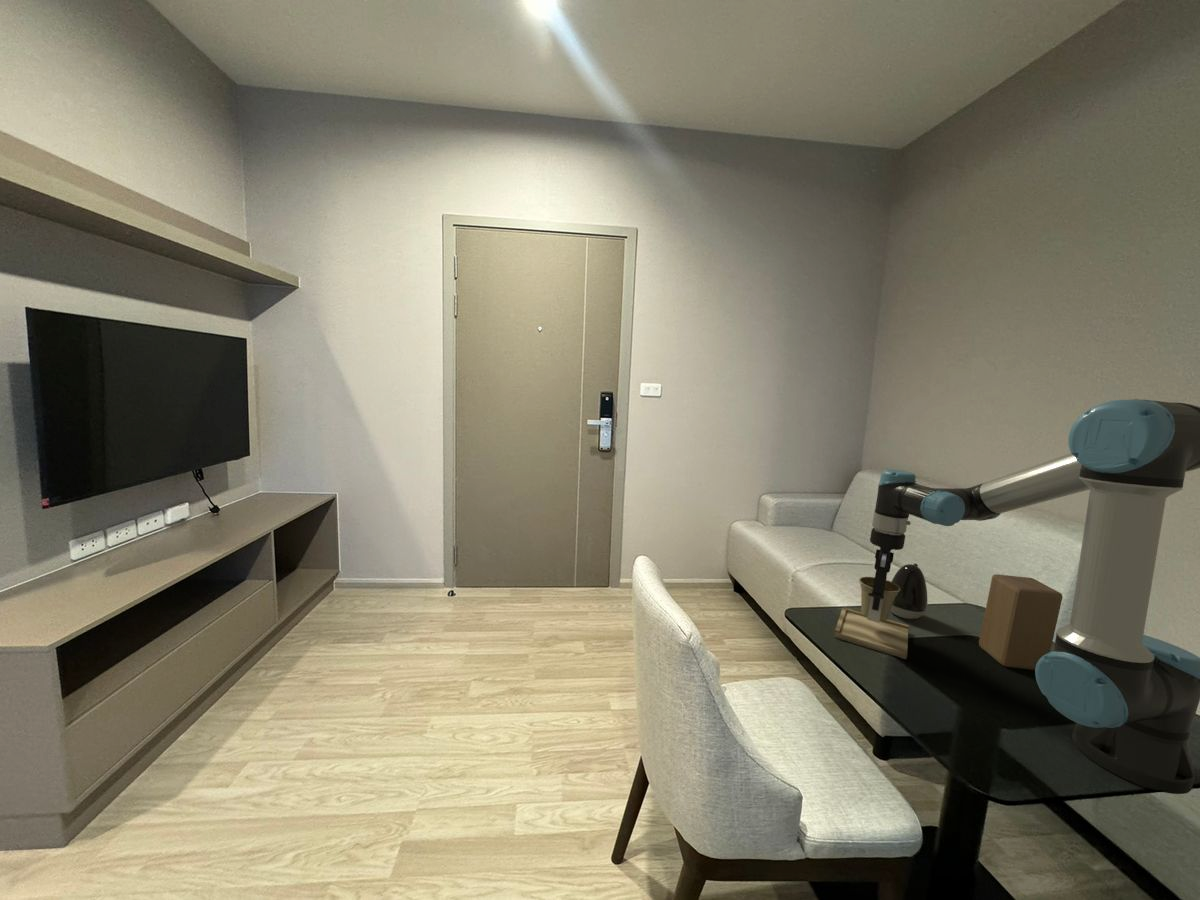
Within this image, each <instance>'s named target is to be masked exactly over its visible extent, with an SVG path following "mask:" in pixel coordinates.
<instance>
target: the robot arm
mask: <svg viewBox="0 0 1200 900" xmlns="http://www.w3.org/2000/svg"><path fill="white" fill-rule="evenodd" d="M1069 430H1070V431H1069V433H1068V440H1067V443H1068V448H1069V452H1070V453H1068V454H1065V455H1061V456H1059V457H1057V458H1053V459H1050V460H1047V461H1044V462H1041V463H1038V464H1035V465H1032V466H1029V467H1027V468H1024V469H1021V470H1017V471H1014V472H1011V473H1009V474H1005V475H1003V476H999V477H997V478H994V479H990V480H989V481H985V482H983V483H980V484H977V485H974V486H971V487H967V488H965V487H964V488H961V487H959V488H958V487H957V488H952V487H951V488H950V487H949V488H944V487H942V488H939V487H937V488H935V487H929V486H926V485H923V484H919V483H916V482H917V481H916V477H917V476H916V474H915V473H912V472H911V471H907V470H899V469H893V468H892V469H890V468H889V469H885V470H883V471H882V472H881V474H880V478H879V482H878V487H877V496H876V502H875V509H874V512H873V518H872V524H871V525H872V529H871V531H870V536H869V537H870V538H869V542H870V543H871V544H872V545H873V546H876V547H879V549H878V548H877V549H876V552H875V557H874V569H875V575H874V577H875V580H874V585H873V591H872V593H869V594H868V595H869V596H871V599H870V605H869V611H868V617H867V620H871V621H874V622H878V623H879V621H880V615H881V609H882V604H883V598H884V589H885V583H886V580H887V579H888V578H887V577H888V573H890V571H891V568H892V567H891V566H892V563H893V562H894V561H893V560H894V554H895V552H891V551H892V550H894V551H901V550H902V549H904V547H905V541H906V535H905V533H906V532H907V527H908V526H910V525H912V523H911V521H910V520H909V517H910V516H914V517H916V518H919V519H922V520H925V521H927V522H929V523H931V524H934V525H940V526H943V527H953V526H955V524H958V523H959V522H960V521H980V522H981V521H983V522H984V521H987V520H993V519H996V518H998V517H999V516H1000V515H1001V514H1003V513H1007V512H1010V511H1015V510H1017V509H1022V508H1026V507H1029V506H1033V505H1037V504H1040V503H1041V504H1042V503H1044V502H1048V501H1052V500H1055V499H1056V500H1057V499H1059V498H1064V497H1066V496H1070V495H1074V494H1077V493H1080V492H1085V491H1089V494H1088V501H1087V509H1086V514H1085V522H1084V527H1083V528H1084V529H1083V535H1082V543H1081V549H1080V555H1079V562H1078V567H1077V568H1078V569H1077V575H1076V581H1075V582H1076V583H1075V588H1074V589H1075V590H1074V595H1073V600H1072V601H1073V602H1072V607H1071V615H1070V620H1069V621H1070V622H1069V624H1067V625H1064V626H1062V627H1060V628H1058V629H1057V630H1056V635H1055V641H1054V648H1053V651H1050V653H1048V654H1045V655H1044V656H1043V657H1041V658H1040V659H1039V661H1038V662H1037V664H1036V668H1035V670H1034V672H1035V673H1034V674H1035V680H1036V683H1037V685H1038V688H1039V690H1040V692H1041V694H1043V696H1045V697H1046V699H1047V700H1048V703H1049V704H1050V705H1051V706H1052V707H1053V708H1054V709H1055V710H1056V711H1057V712H1059V713H1060V714H1061V715H1063V716H1064V717H1065V718H1067V719H1068V720H1071V721H1073V722H1074V723H1075V725H1074V728H1073V731H1072V736H1071V737H1072V741H1073V743H1074V745H1075V746H1076V748H1078V749H1079V750H1080V752H1082V753H1083V755H1085V756H1086V757H1087V758H1089V759H1090V760H1091V761H1092V762H1094V763H1095V764H1098V765H1099V766H1100V767H1102V768H1103V769H1105V770H1107V771H1109V772H1111V773H1112V774H1114V775H1116V776H1118V777H1121V778H1122V779H1124V780H1127V781H1129V782H1132V783H1134V784H1137V785H1139V786H1141V787H1144V788H1147V789H1151V790H1153V791H1157V790H1164V791H1160V792H1161V793H1166V794H1172V795H1184V794H1188V793H1190V792H1191V791H1192V789H1193V786H1194V781H1195V775H1196V774H1195V769H1194V764H1193V760H1192V756H1191V752H1190V751H1191V750H1190V746H1189V738H1190V734H1191V731H1192V727H1193V724H1194V721H1195V717H1196V714H1197V711H1198V707H1199V704H1200V657H1199V656H1198V655H1196V654H1194V653H1192V652H1190V651H1188V650H1186V649H1184V648H1181V647H1179V646H1177V645H1175V644H1172V643H1170V642H1168V641H1164V640H1161V639H1158V638H1156V637H1152V636H1149V635H1145V634H1144V633H1145V628H1146V621H1147V615H1148V610H1149V609H1148V608H1149V603H1150V596H1151V592H1152V591H1151V590H1152V585H1153V584H1152V583H1153V578H1154V573H1155V568H1156V561H1157V555H1158V549H1159V543H1160V542H1159V541H1160V537H1161V536H1160V535H1161V531H1162V524H1163V518H1164V514H1165V513H1164V512H1165V507H1166V501H1167V498H1168V497H1170V496H1172V495H1174V494H1176V493H1178V492H1180V491H1182V490H1183V488H1184V483H1185V482H1184V481H1185V478H1186V476H1185V475H1186V472H1190V471H1194V470H1199V469H1200V406H1197V405H1194V404H1190V403H1185V402H1169V401H1161V400H1160V401H1159V400H1151V399H1150V400H1149V399H1140V398H1139V399H1138V398H1134V399H1133V398H1132V399H1117V400H1116V399H1115V400H1108V401H1105V402H1102V403H1099V404H1097V405H1094V406H1092V407H1091V408H1089V409H1087V410H1086V411H1084V412H1083V413H1082V414H1081V415H1080V416H1078V417H1077V419H1076V420H1075V421H1074V423H1073V424H1072V426H1071V427H1070V429H1069ZM876 592H877V593H876Z"/></svg>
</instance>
